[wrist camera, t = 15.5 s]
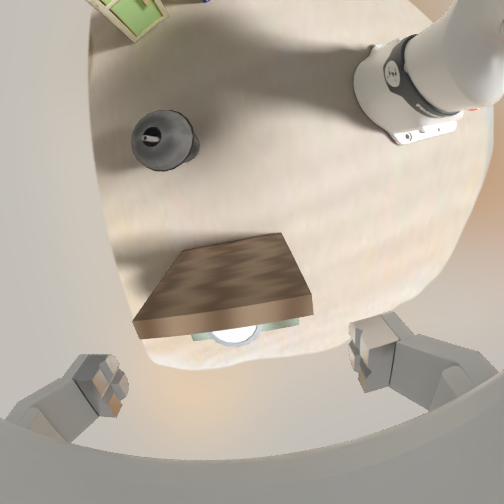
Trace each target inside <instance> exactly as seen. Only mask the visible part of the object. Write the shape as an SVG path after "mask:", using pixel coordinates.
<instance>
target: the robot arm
mask: <svg viewBox="0 0 504 504" xmlns="http://www.w3.org/2000/svg"><path fill="white" fill-rule="evenodd" d="M354 91H355V95H356V98H357V100H358V102H359V104H360V106H361V108H362V110H363V111H364V112H365V114H366V115H367V116H368V117H369V118H370V119H371V120H372V121H373V122H374V123H375V124H377V125H378V126H380V127H381V128H383V129H384V130H386V131H387V132H388V133H389V134H390V136H391V137H392V138H393V140H394V141H395V142H396V143H397V144H398V145H405V144H409V143H412V142H416V141H419V140H423V139H426V138H430V137H434V136H437V135H441V134H445V133H449V132H452V131H455V129H456V125H457V120H460V119H462V117H463V113H464V110H471V111H473V110H477V108H483V107H489V106H491V105H493V104H495V103H496V102H497V101H499V99H501V97H502V96H503V94H504V0H453V2H452V4H451V5H450V7H449V8H448V10H447V11H446V12H445V14H444V15H443V16H442V17H441V18H440V19H439V20H437V21H436V22H435V23H433V24H432V25H431V26H429V27H428V28H426V29H425V30H424V31H422V32H421V33H419V34H415V35H411V36H409V37H406V38H404V39H403V40H401V39H396V40H394V41H392V42H390V43H388V44H386V45H382V44H377V45H375V46H374V47H373V48H372V50H371V53H370V55H369V56H368V57H367V58H366V59H365V60H363V61H362V62H361V63H360V64H359V65H358V67H357V69H356V71H355V74H354ZM406 135H407V139H406V137H405V136H406ZM349 335H350V337H351V339H352V341H351V342H350V343H349V356H350V361H351V364H352V367H353V369H354V371H356V372H358V373H359V377H358V380H359V382H360V384H361V386H362V388H363V390H364V392H365V393H367V392H371V391H374V390H378V389H381V388H384V387H388V386H389V387H390V388H392V389H394V390H395V391H397V392H398V393H400V394H402V395H403V396H405V397H407V398H408V399H410V400H412V401H413V402H416V403H417V404H419V405H420V406H422V407H424V408H426V409H427V410H429V412H427V413H425V414H423V415H421V416H418V417H416V418H414V419H411V420H409V421H406V422H404V423H401V424H399V425H396V426H393V427H390V428H388V429H385V430H382V431H379V432H376V433H373V434H370V435H367V436H364V437H360V438H357V439H353V440H350V441H346V442H342V443H338V444H334V445H330V446H326V447H322V448H316V449H312V450H306V451H301V452H295V453H289V454H283V455H276V456H267V457H259V458H248V459H232V460H174V459H173V460H172V459H159V458H149V457H140V456H132V455H125V454H119V453H113V452H107V451H102V450H97V449H93V448H88V447H84V446H80V445H76V444H72V443H71V442H72V441H73V440H74V439H75V438H76V437H77V436H79V435H80V434H81V433H82V432H83V431H84V430H85V429H86V428H87V427H89V426H90V425H91V424H92V423H93V422H94V421H95V420H96V419H97V418H98V417H99V416H104V417H117V415H118V413H119V411H120V409H121V407H122V403H121V400H122V399H124V398H125V397H126V396H127V393H128V389H129V383H128V380H127V377H126V375H125V373H124V372H122V371H121V370H120V369H119V362H118V360H117V359H116V357H115V356H113V355H107V354H82V355H79V356H78V357H77V359H76V360H75V361H74V363H73V364H72V365H71V366H70V368H69V369H68V370H67V372H66V373H65V374H64V376H63V377H62V378H61V379H60V378H59V379H57V380H55V381H54V382H52V383H50V384H48V385H47V386H45V387H43V388H41V389H40V390H38V391H36V392H35V393H33V394H31V395H29V396H27V397H26V398H24V399H22V400H21V401H19V402H18V403H17V404H16V405H15V407H14V408H13V409H12V411H11V412H10V413H9V415H8V416H7V418H6V419H5V420H4V419H2V418H0V504H504V369H503V370H502V371H501V372H498V371H497V370H496V369H495V368H494V367H493V366H492V365H491V364H490V363H489V361H488V360H486V358H485V357H484V356H483V355H482V354H481V353H480V352H478V351H474V350H471V349H468V348H464V347H461V346H457V345H453V344H450V343H447V342H443V341H440V340H437V339H434V338H430V337H427V336H424V335H420V334H418V335H414V333H413V332H412V331H411V330H410V329H409V328H408V327H407V326H406V325H405V323H403V321H402V320H401V319H400V318H399V317H398V316H397V315H396V314H395V313H394V312H393V311H389V312H385V313H382V314H379V315H377V316H373V317H370V318H366V319H362V320H359V321H355V322H351V323H350V324H349Z"/></svg>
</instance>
